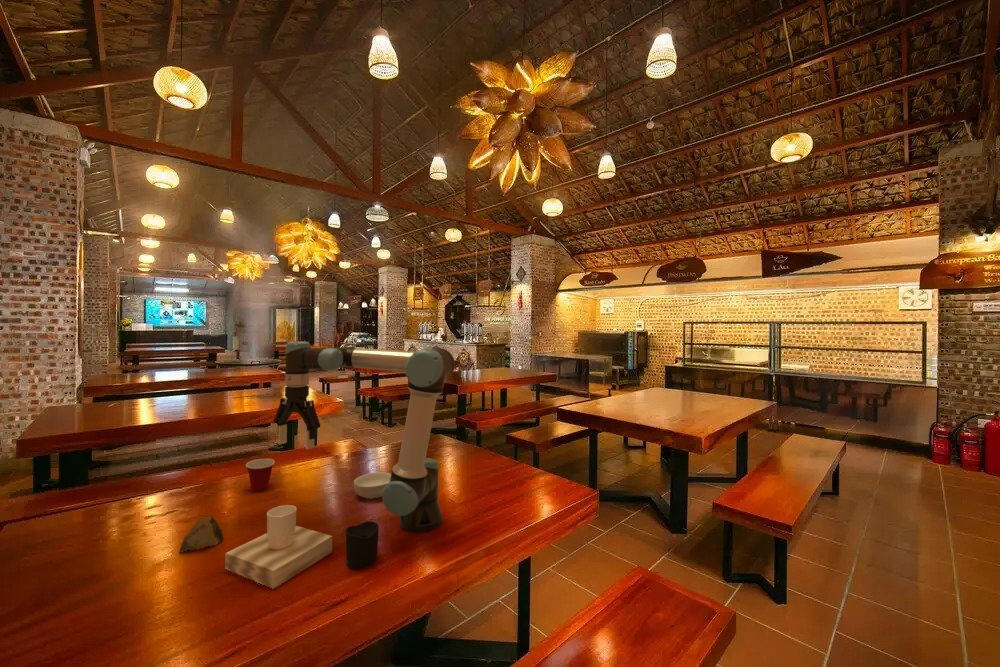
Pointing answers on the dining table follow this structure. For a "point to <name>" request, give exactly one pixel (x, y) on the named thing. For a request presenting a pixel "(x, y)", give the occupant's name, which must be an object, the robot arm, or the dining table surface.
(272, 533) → the white cup
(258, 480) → the plastic cup
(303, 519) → the dining table surface
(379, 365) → the robot arm
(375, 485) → the cereal bowl
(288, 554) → the birch plinth
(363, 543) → the pen holder
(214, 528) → the rock
